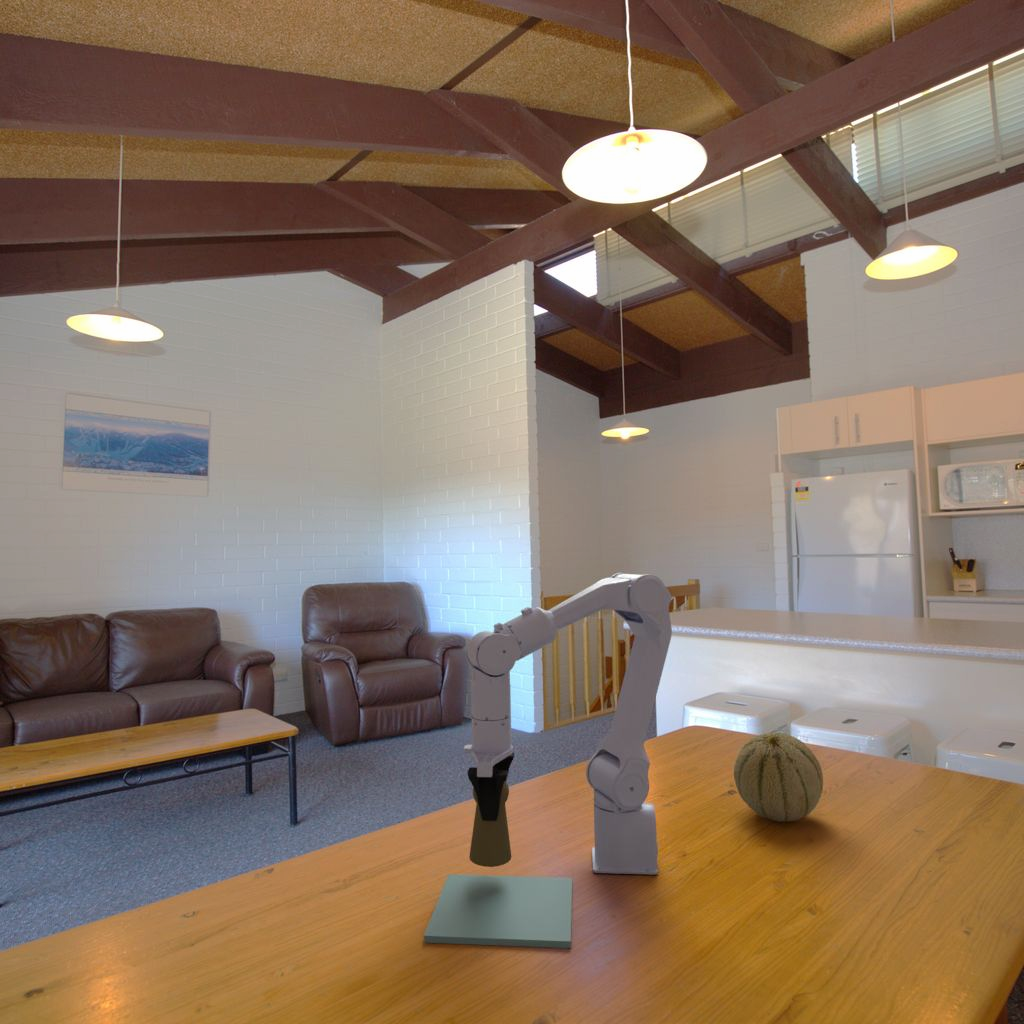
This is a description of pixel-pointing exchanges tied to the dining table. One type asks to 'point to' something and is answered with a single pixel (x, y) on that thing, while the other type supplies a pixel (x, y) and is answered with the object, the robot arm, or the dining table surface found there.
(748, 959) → the dining table surface
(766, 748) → the cantaloupe
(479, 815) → the olive game pawn
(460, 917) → the teal board
